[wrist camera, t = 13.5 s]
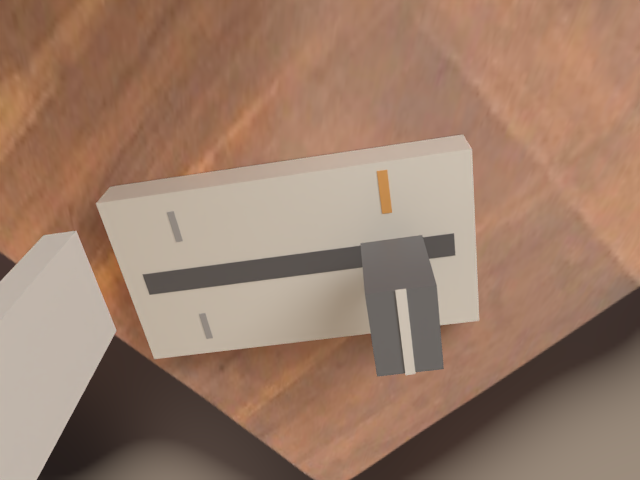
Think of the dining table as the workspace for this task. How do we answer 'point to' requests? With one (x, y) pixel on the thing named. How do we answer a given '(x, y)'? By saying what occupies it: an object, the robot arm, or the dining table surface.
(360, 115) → the dining table surface
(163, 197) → the console
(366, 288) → the fader knob
